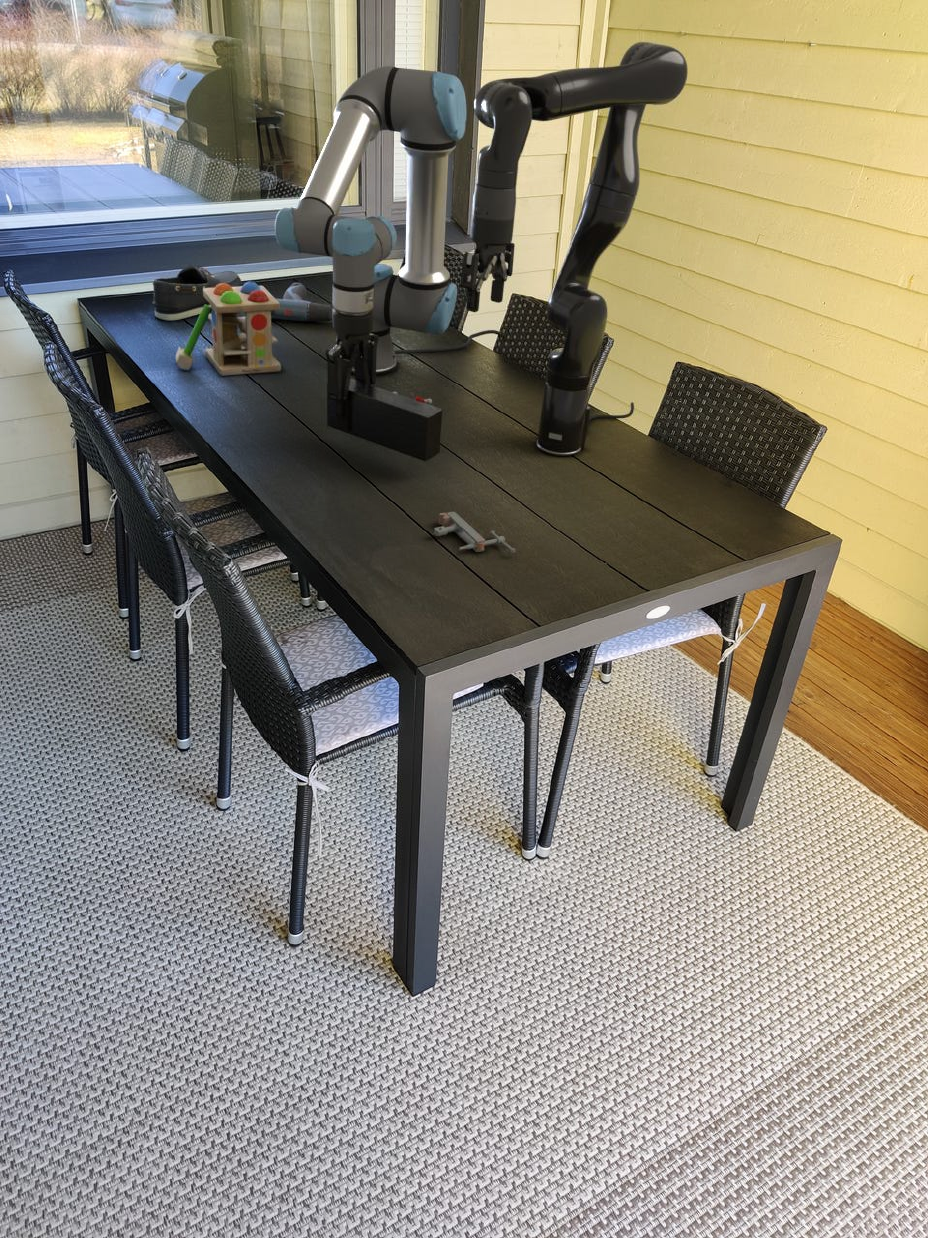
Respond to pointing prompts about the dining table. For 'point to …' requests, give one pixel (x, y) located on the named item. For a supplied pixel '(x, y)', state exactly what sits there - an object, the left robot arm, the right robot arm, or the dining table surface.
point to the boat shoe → (187, 291)
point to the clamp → (466, 533)
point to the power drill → (301, 306)
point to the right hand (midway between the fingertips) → (484, 306)
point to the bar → (391, 420)
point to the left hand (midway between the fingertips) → (351, 425)
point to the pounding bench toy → (229, 347)
